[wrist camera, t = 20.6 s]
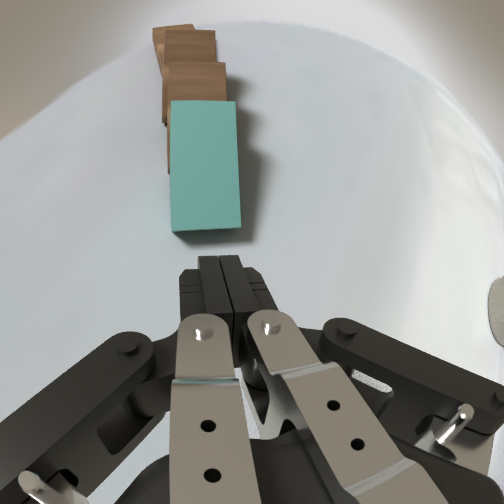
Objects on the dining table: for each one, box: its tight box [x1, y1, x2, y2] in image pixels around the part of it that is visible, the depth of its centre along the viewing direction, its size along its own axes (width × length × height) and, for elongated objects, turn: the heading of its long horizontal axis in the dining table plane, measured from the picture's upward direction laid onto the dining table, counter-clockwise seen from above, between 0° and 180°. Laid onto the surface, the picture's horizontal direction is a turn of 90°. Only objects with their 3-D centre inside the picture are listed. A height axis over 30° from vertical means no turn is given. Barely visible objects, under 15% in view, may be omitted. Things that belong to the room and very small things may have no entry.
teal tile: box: [170, 100, 241, 232], centre depth 22 cm, size 2×5×10 cm
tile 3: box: [162, 30, 216, 123], centre depth 24 cm, size 2×5×10 cm
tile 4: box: [153, 24, 195, 79], centre depth 27 cm, size 2×5×10 cm
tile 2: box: [167, 62, 227, 173], centre depth 23 cm, size 2×5×10 cm
